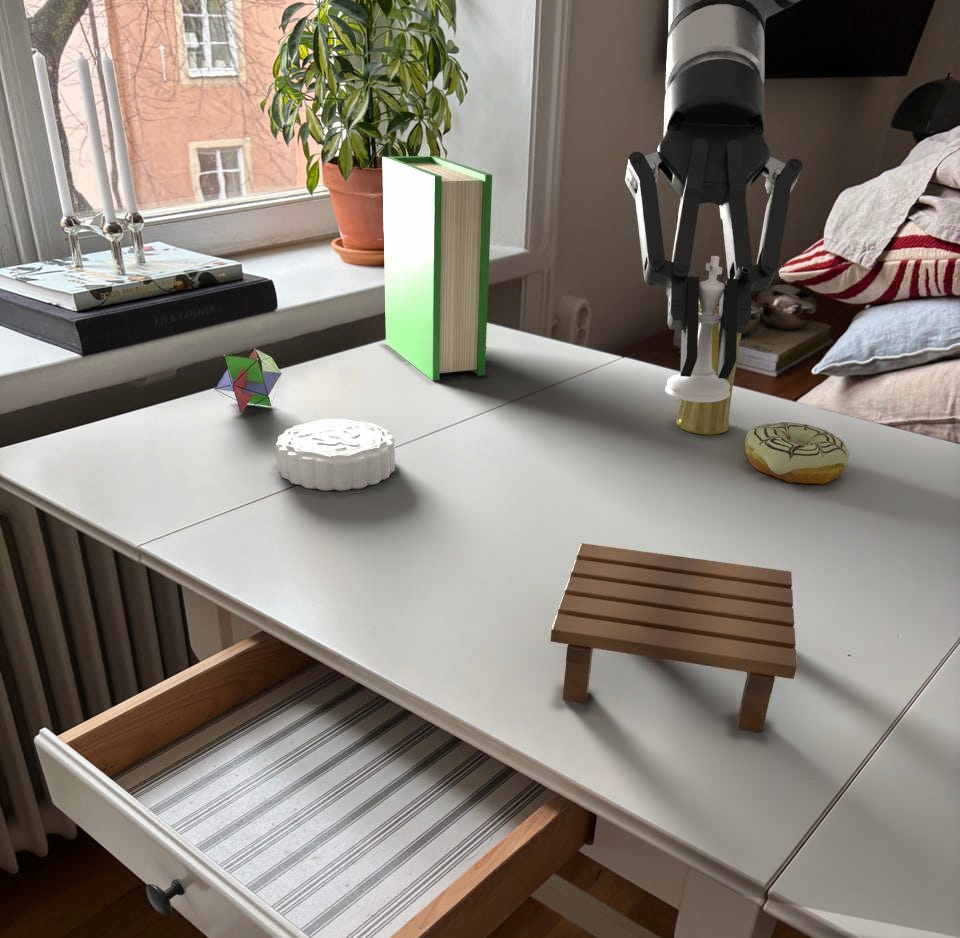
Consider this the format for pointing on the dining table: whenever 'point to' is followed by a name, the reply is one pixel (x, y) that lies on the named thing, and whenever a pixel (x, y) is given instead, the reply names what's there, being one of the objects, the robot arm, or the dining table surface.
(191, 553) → the dining table surface
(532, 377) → the dining table surface
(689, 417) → the vase
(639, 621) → the bench
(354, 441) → the mooncake
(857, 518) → the dining table surface
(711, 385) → the chess piece
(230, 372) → the geometric puzzle
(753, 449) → the decorated donut
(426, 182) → the hardback book
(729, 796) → the dining table surface
